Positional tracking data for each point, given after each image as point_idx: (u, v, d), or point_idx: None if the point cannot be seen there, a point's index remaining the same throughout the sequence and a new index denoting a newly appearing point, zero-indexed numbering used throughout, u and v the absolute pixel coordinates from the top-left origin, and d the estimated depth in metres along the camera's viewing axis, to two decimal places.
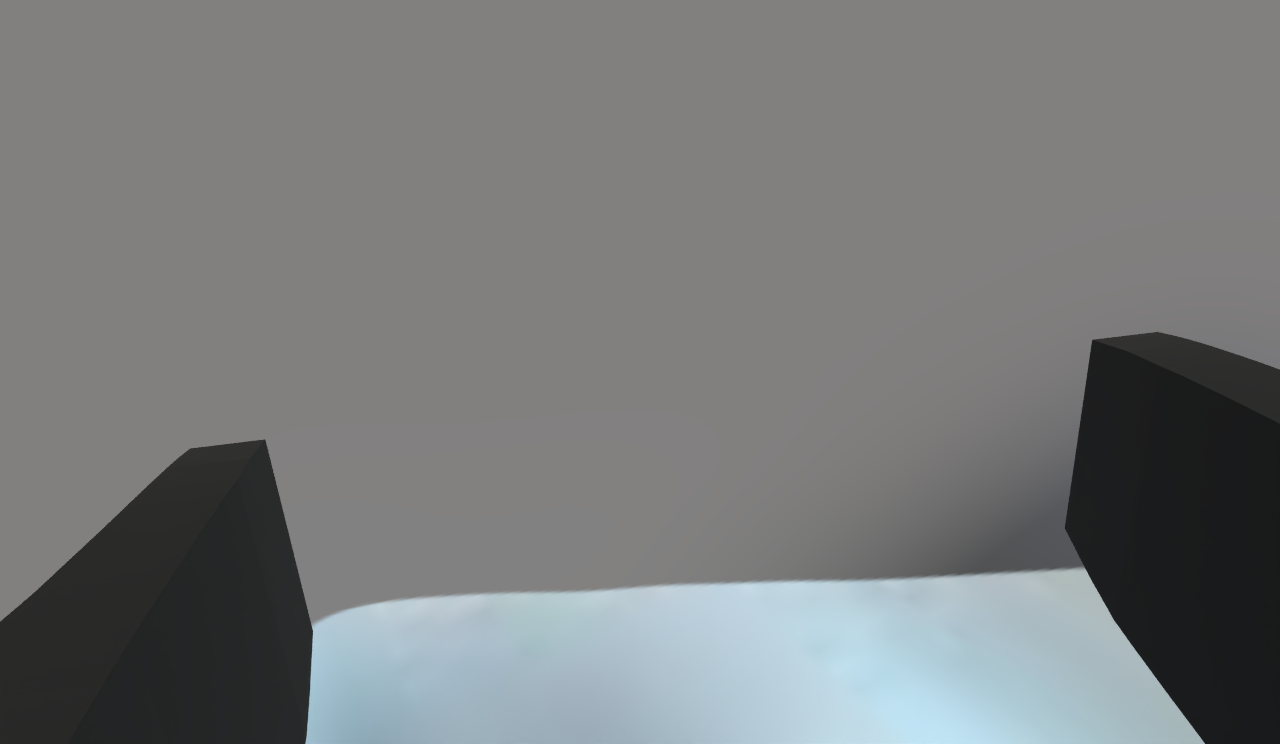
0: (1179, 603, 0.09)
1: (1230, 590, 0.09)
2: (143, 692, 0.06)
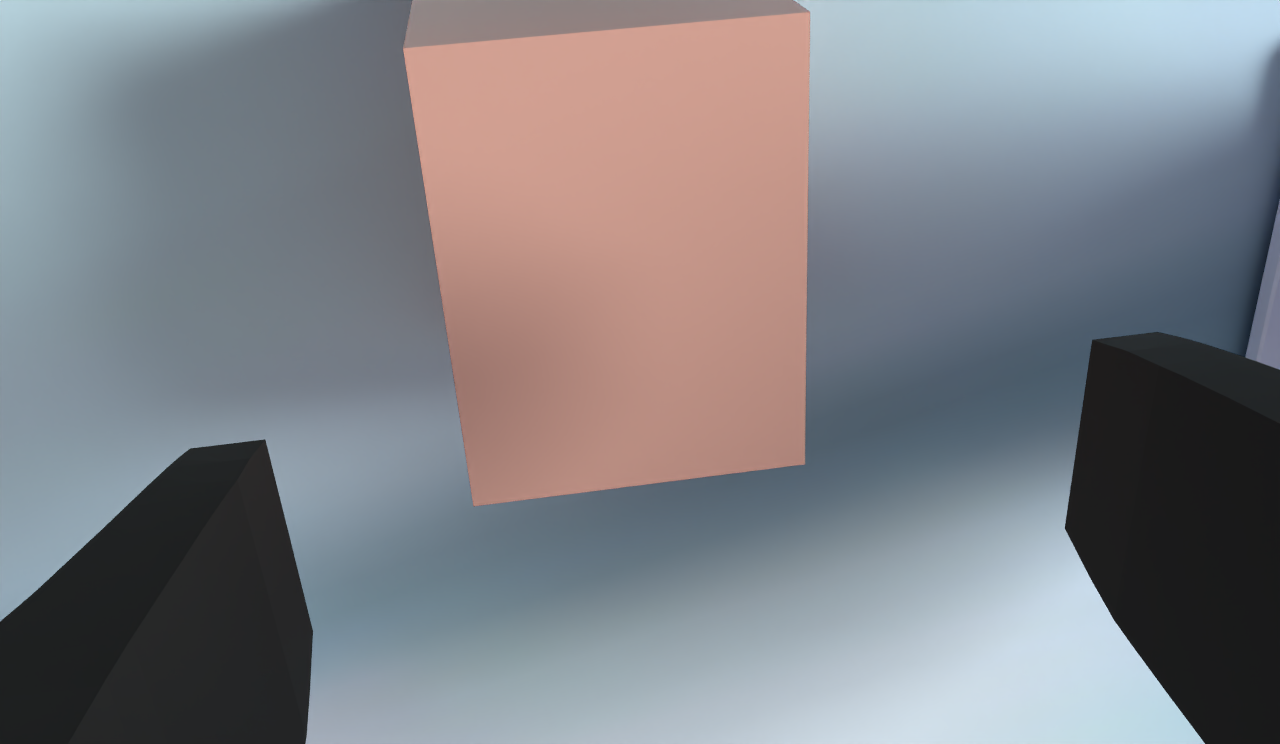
0: (1179, 603, 0.09)
1: (1230, 590, 0.09)
2: (144, 691, 0.06)
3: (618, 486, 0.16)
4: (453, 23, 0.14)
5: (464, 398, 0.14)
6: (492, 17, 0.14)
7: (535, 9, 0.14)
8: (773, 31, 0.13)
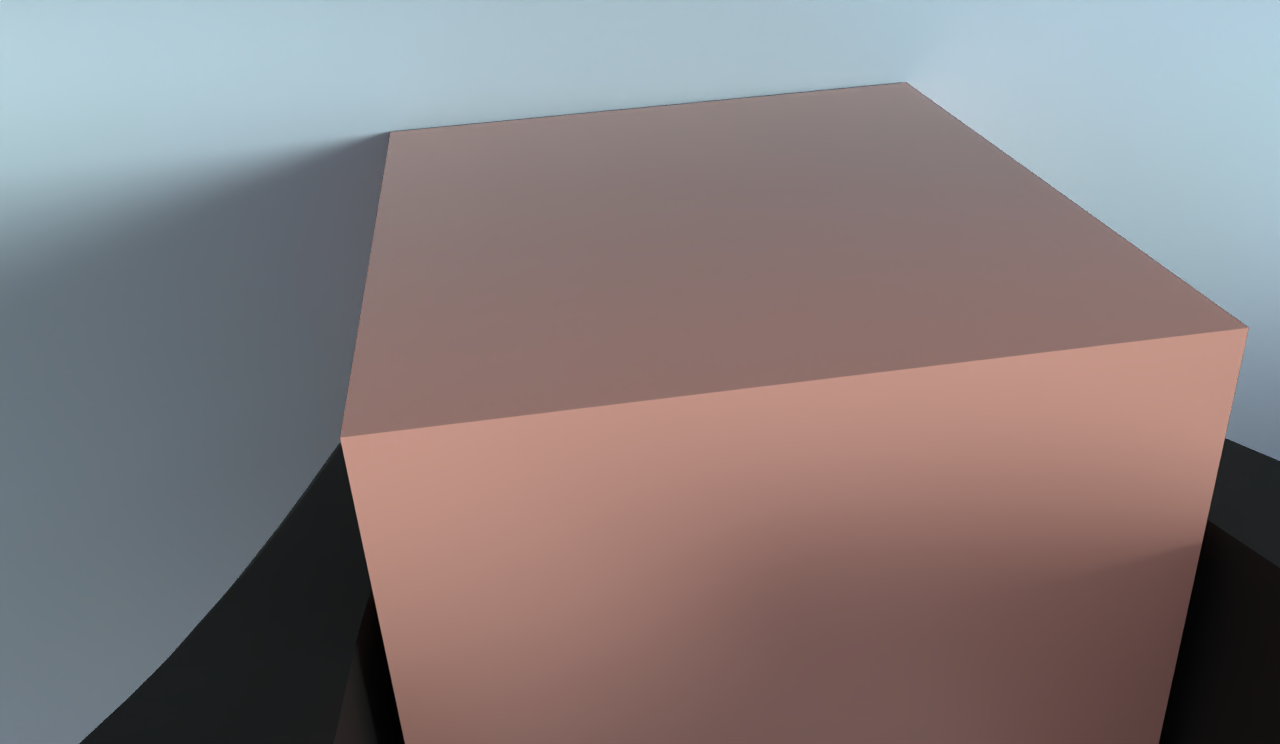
0: None
1: None
2: (374, 659, 0.07)
3: None
4: (455, 321, 0.06)
5: None
6: (537, 304, 0.07)
7: (622, 275, 0.07)
8: (1164, 367, 0.06)
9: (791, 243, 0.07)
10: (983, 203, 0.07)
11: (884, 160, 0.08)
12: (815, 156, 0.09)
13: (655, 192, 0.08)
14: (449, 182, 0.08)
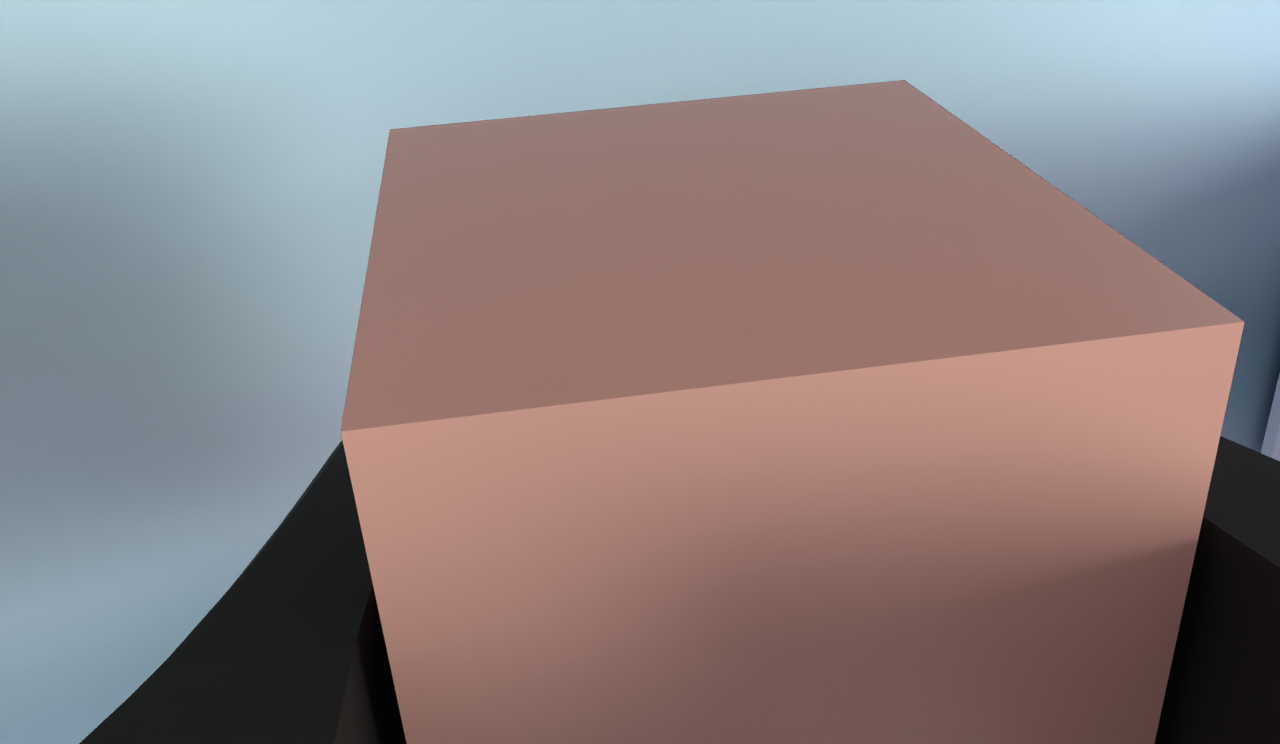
0: None
1: None
2: (373, 659, 0.07)
3: None
4: (455, 316, 0.06)
5: None
6: (537, 299, 0.07)
7: (622, 270, 0.07)
8: (1160, 361, 0.06)
9: (789, 240, 0.07)
10: (984, 201, 0.08)
11: (882, 157, 0.08)
12: (812, 154, 0.09)
13: (654, 188, 0.08)
14: (448, 179, 0.09)
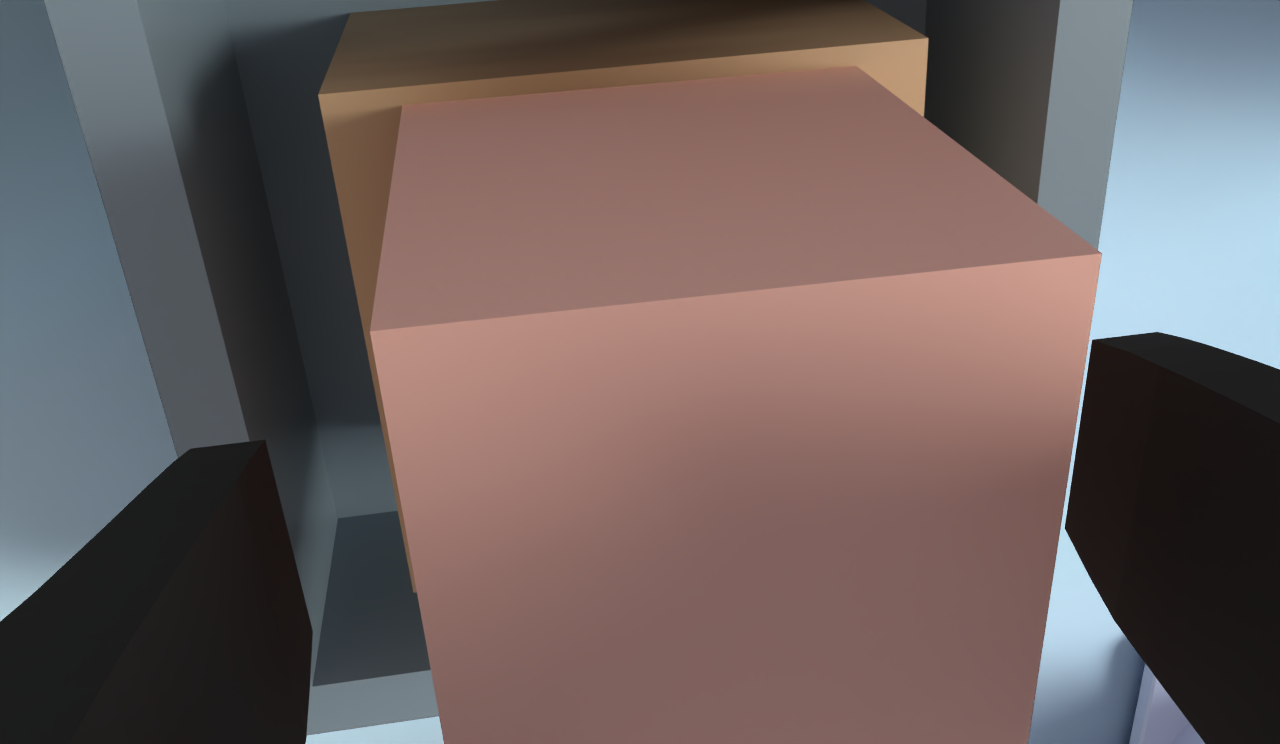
0: (1179, 603, 0.09)
1: (1230, 590, 0.09)
2: (143, 692, 0.06)
3: None
4: (461, 250, 0.08)
5: None
6: (528, 237, 0.08)
7: (600, 216, 0.08)
8: (1034, 286, 0.07)
9: (742, 193, 0.08)
10: (908, 162, 0.09)
11: (828, 129, 0.10)
12: (769, 126, 0.10)
13: (630, 153, 0.09)
14: (454, 145, 0.10)
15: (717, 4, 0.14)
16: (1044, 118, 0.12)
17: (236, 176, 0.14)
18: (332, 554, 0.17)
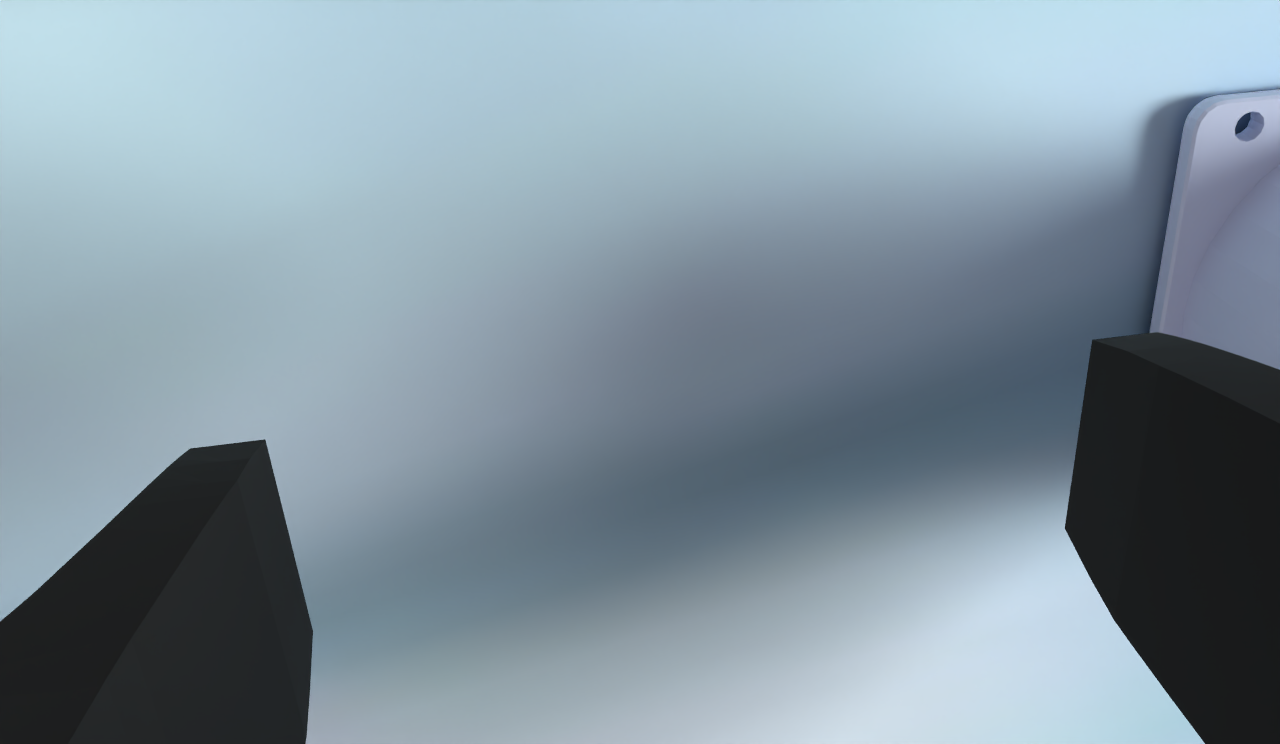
0: (1179, 603, 0.09)
1: (1230, 590, 0.09)
2: (143, 692, 0.06)
3: None
4: None
5: None
6: None
7: None
8: None
9: None
10: None
11: None
12: None
13: None
14: None
15: None
16: None
17: None
18: None
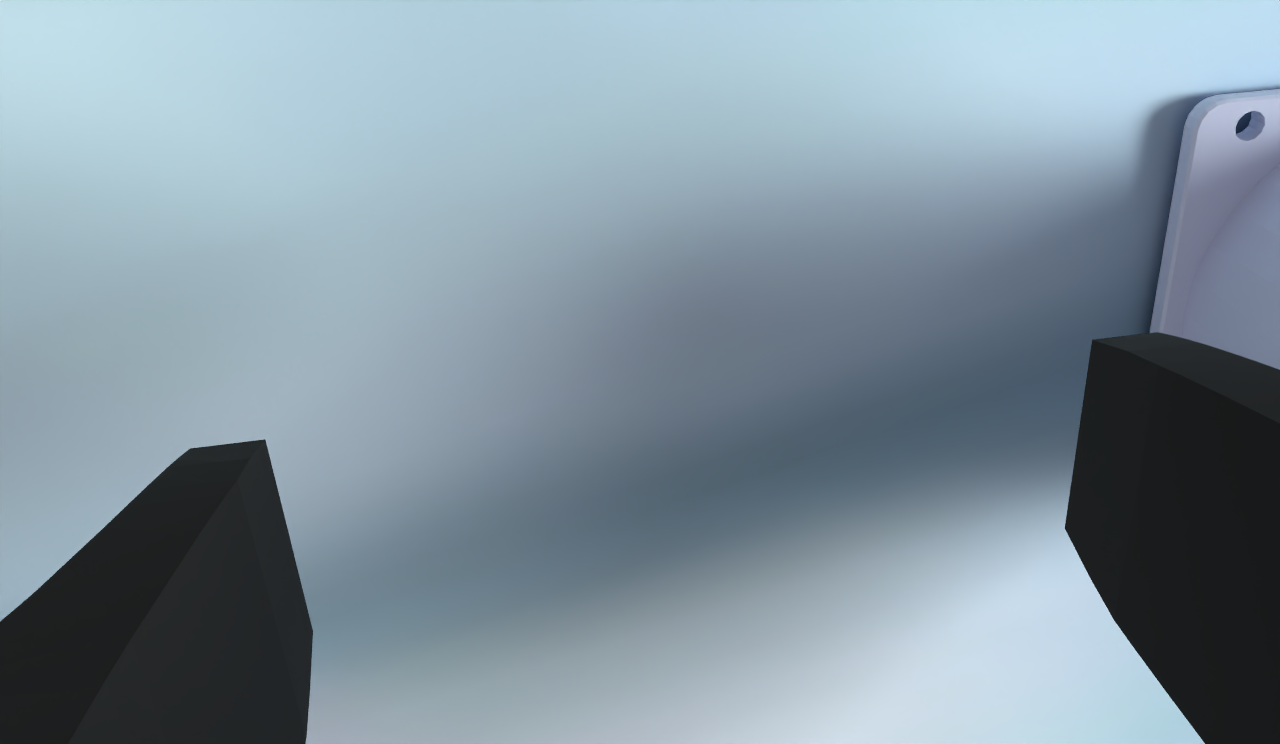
0: (1178, 603, 0.09)
1: (1229, 590, 0.09)
2: (143, 692, 0.06)
3: None
4: None
5: None
6: None
7: None
8: None
9: None
10: None
11: None
12: None
13: None
14: None
15: None
16: None
17: None
18: None
